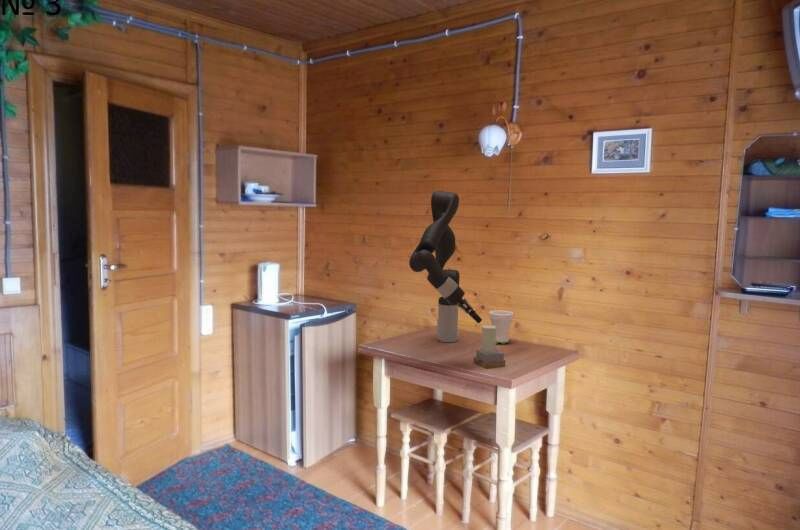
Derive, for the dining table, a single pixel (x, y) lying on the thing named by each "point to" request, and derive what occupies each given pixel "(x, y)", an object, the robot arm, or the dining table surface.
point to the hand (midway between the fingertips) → (477, 319)
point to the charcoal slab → (490, 356)
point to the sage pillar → (488, 339)
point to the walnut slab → (488, 363)
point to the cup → (501, 324)
